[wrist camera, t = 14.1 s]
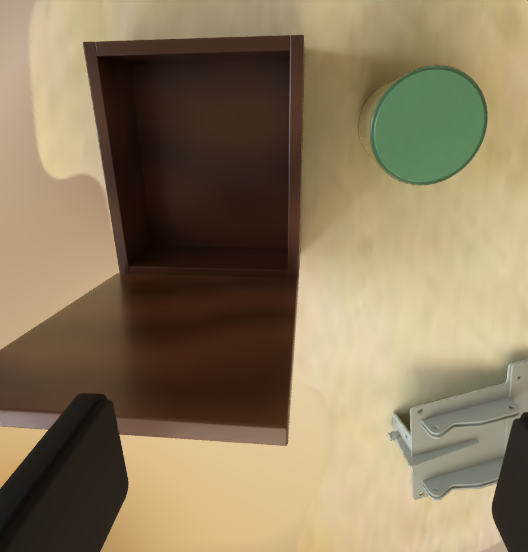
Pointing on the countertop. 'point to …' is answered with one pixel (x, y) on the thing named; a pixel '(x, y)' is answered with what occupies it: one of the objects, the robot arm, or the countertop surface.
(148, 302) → the bin lid
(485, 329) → the countertop surface
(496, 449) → the metal bracket
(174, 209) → the bin
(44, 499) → the robot arm
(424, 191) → the countertop surface
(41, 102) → the countertop surface
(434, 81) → the pot
